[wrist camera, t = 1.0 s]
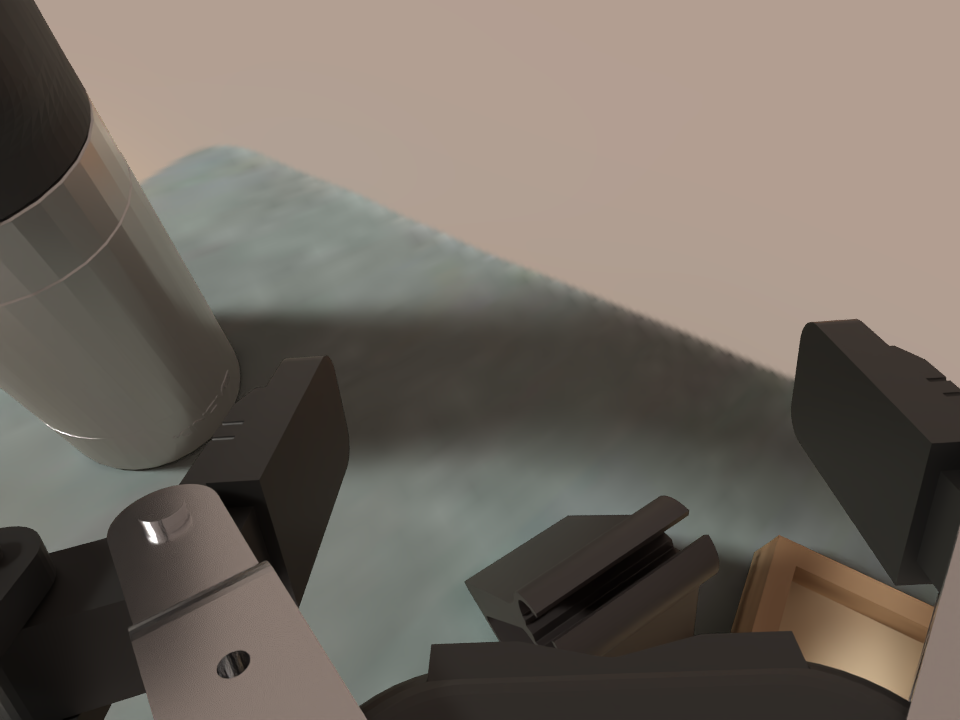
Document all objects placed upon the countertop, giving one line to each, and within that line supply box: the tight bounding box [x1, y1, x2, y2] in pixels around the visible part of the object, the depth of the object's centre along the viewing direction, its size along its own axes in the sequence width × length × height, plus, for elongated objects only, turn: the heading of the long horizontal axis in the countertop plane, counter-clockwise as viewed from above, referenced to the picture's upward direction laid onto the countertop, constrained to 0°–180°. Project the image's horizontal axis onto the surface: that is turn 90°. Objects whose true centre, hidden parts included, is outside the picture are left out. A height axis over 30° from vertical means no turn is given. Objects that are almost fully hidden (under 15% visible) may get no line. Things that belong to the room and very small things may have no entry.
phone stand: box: [465, 496, 719, 657], centre depth 26 cm, size 9×6×12 cm, turn 32°
